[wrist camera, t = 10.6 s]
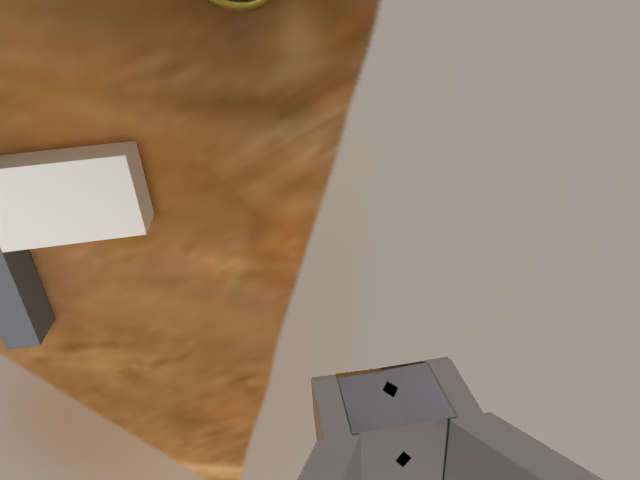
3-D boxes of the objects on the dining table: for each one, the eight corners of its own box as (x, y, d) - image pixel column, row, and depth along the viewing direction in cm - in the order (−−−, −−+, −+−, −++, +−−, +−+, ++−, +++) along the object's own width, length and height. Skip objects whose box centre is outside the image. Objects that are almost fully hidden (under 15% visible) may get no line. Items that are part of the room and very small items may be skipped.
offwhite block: (-5, 154, 35) (-33, 172, 31) (136, 139, 36) (125, 155, 32) (24, 228, 37) (2, 252, 34) (154, 212, 38) (146, 234, 35)
